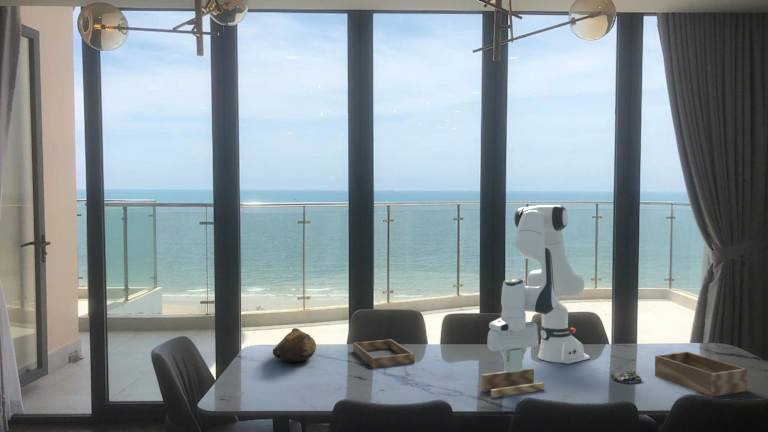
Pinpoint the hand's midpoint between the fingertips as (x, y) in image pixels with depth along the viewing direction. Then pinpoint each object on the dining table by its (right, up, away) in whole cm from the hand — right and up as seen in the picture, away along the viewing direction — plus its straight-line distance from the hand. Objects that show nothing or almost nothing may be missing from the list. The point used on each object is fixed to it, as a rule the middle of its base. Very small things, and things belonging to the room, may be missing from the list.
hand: (513, 360), depth 211 cm
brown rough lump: (-87, -10, +42) cm, 97 cm away
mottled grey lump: (+47, -11, +12) cm, 50 cm away
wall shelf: (0, -11, 0) cm, 11 cm away
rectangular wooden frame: (-48, -10, +45) cm, 67 cm away
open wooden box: (+73, -11, +8) cm, 74 cm away
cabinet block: (0, -4, 0) cm, 4 cm away
